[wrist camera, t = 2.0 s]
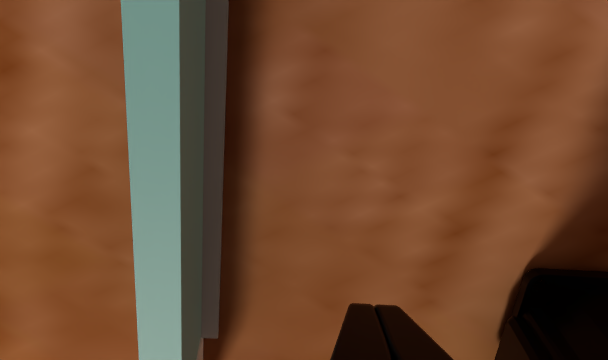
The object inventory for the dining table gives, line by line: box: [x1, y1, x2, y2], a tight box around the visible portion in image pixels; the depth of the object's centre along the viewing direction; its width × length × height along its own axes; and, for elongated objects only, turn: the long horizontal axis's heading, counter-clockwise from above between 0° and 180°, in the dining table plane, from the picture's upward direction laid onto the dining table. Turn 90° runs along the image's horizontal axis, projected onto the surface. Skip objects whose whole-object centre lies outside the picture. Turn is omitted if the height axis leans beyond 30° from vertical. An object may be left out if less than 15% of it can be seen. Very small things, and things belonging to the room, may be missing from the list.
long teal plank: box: [121, 0, 206, 360], centre depth 15 cm, size 14×1×4 cm, turn 175°
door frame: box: [196, 0, 229, 360], centre depth 15 cm, size 2×26×5 cm, turn 175°
